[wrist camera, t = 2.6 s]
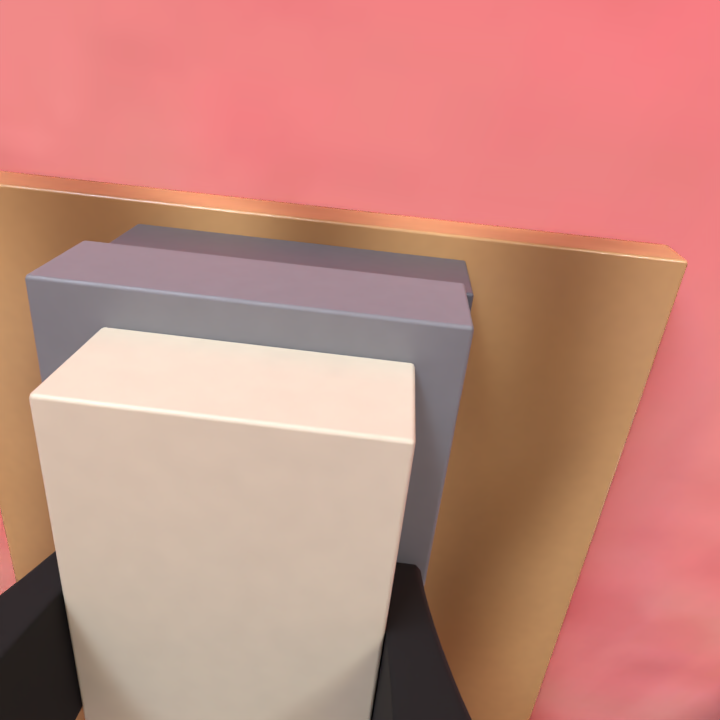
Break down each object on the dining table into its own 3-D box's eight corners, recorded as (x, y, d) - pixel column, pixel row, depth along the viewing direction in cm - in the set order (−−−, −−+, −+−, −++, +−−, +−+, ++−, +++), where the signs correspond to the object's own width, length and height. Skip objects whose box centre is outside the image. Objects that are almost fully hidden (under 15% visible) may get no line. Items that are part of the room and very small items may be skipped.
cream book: (415, 361, 10) (415, 441, 8) (357, 746, 14) (348, 857, 12) (102, 324, 10) (25, 394, 8) (143, 717, 14) (101, 823, 13)
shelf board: (668, 244, 14) (690, 261, 13) (471, 844, 25) (474, 879, 24) (-39, 165, 14) (-75, 175, 13) (82, 791, 26) (68, 824, 25)
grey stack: (467, 250, 13) (488, 328, 9) (401, 623, 18) (399, 765, 15) (127, 212, 13) (21, 274, 10) (157, 592, 18) (95, 724, 15)
